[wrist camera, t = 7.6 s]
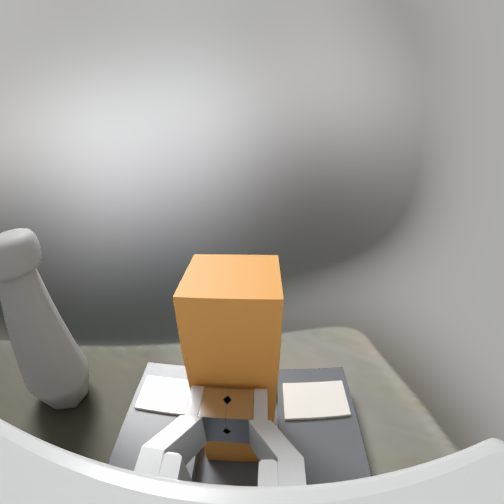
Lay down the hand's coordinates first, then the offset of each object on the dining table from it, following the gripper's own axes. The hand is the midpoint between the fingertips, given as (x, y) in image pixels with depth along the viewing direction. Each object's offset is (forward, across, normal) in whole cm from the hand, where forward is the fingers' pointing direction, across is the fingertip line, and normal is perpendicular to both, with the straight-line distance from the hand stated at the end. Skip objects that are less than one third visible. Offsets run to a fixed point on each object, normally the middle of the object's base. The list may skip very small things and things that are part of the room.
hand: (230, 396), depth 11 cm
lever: (+2, 0, +6) cm, 7 cm away
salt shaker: (+4, +14, +8) cm, 16 cm away
